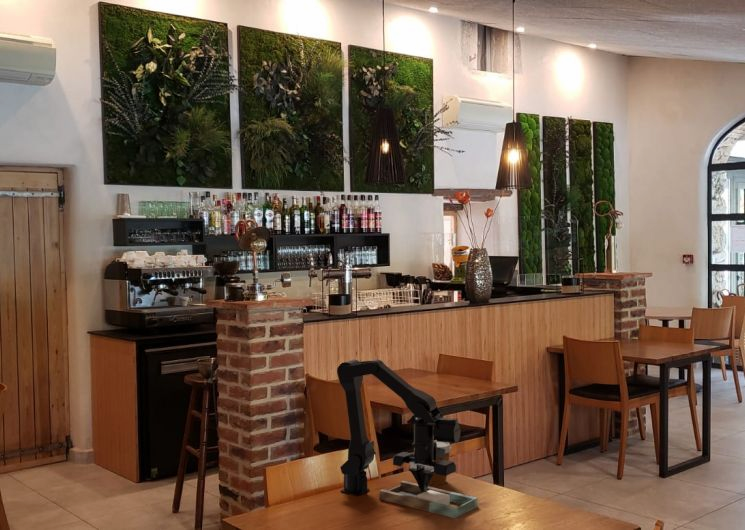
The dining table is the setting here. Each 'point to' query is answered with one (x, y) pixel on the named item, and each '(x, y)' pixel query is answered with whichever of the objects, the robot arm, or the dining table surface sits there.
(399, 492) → the box
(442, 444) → the disposable coffee cup
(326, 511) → the dining table surface
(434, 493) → the ivory block
